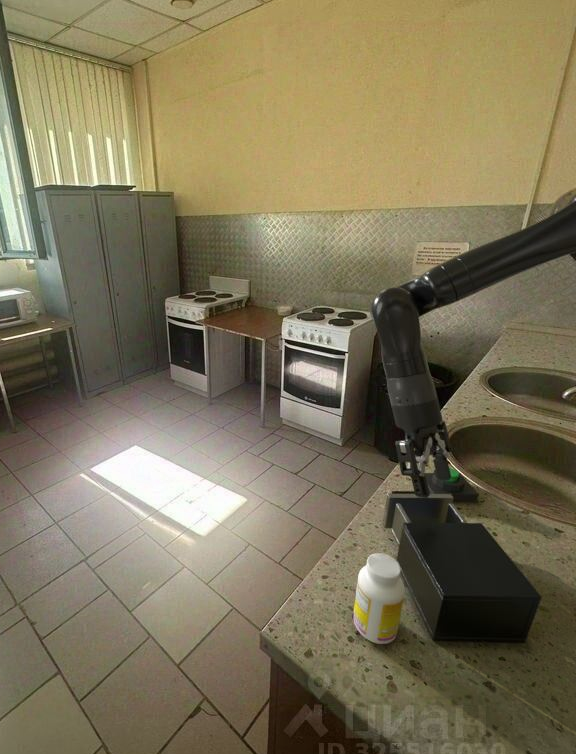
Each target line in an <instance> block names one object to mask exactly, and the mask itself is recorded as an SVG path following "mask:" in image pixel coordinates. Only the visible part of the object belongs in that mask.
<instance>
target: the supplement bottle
mask: <svg viewBox="0 0 576 754" xmlns="http://www.w3.org/2000/svg"><path fill="white" fill-rule="evenodd" d="M356 583H357V584H356V592H355V598H354V599H355V600H354V608H353V623H354V626H355V627H356V629H357V631H358V632H359V634H360V635H361V636H362V637H364V638H365V639H366V640H368V641H369V642H372V643H375V644H378V645H379V644H380V645H386V644H389V643H391V642H393V641H394V640H395V639H396V637H397V636H398V632H399V626H400V620H401V615H402V609H403V605H404V598H405V591H406V588H405V584H404V583H405V582H404V580H403V578H402V576H401V569H400V566H399V564H398V562H397V559H395V558H393V557H392V556H390V555H388V554H386V553H381V552H375V553H372V554H370V555H369V556H368V558H367V561H366V564H365V565H364V566H363V567H362V568H361V569H360V571H359V572H358V576H357V582H356Z"/></svg>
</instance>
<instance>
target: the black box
mask: <svg viewBox="0 0 576 754" xmlns="http://www.w3.org/2000/svg"><path fill="white" fill-rule="evenodd" d="M396 561H397V562H398V564H399V566H400V569H401V573H400V576H401V578H402V580H403V582H404V583H405V585H406V587H407V589H408V591H409V594H410V596H411V598H412V600H413V602H414V605H415V606H416V609H417V611H418V613H419V615H420V617H421V619H422V621H423V623H424V625H425V627H426V630H427V632H428V634H429V636H430V638H431V640H432V642H446V643H447V642H449V643H451V642H452V643H491V644H492V643H493V644H497V643H498V644H526V641H527V638H528V636H529V633H530V630H531V628H532V625H533V621H534V619H535V616H536V614H537V612H538V608H539V605H540V602H541V600H542V595H541V594H540V593H539V591H538V590H537V588H535V586H534V585H533V584H532V583H531V582H530V581H529V580H528V578H527V577H526V575H524V573H523V572H522V571H521V569H519V567H518V566H517V564H515V562H514V561H513V560H512V558H511V557H510V556H509V555H508V554H507V553H506V551H505V550H504V549H503V548H502V546H501V545H500V544H499V543H498V541H497V540H496V539H495V538H494V536H493V535H492V534H491V533H490V532H489V531H488V529H487V528H486V527H485V526H484V524H483V523H481V522H468V523H403V527H402V533H401V538H400V544H399V546H398V550H397V556H396Z"/></svg>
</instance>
